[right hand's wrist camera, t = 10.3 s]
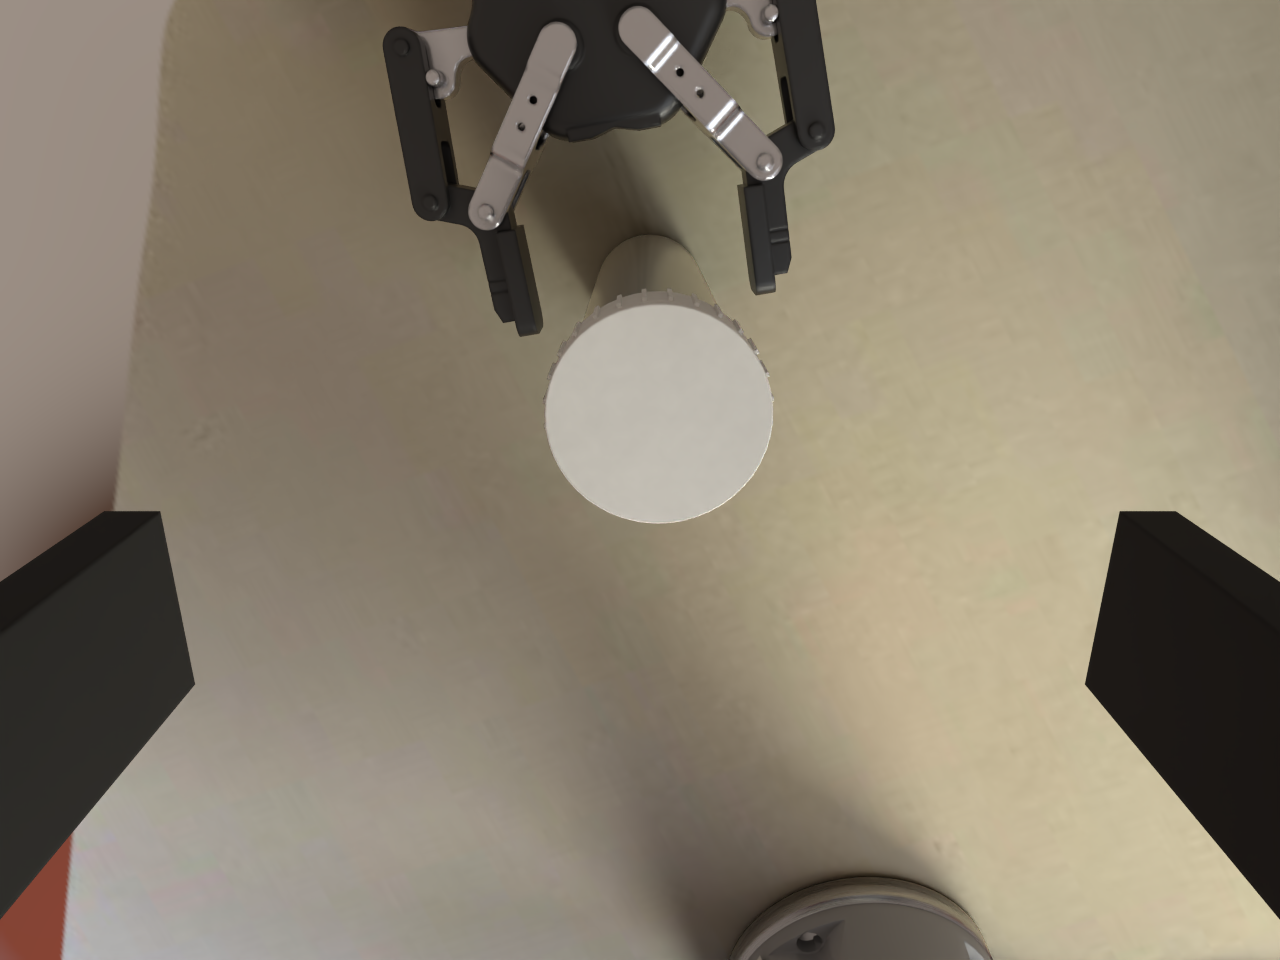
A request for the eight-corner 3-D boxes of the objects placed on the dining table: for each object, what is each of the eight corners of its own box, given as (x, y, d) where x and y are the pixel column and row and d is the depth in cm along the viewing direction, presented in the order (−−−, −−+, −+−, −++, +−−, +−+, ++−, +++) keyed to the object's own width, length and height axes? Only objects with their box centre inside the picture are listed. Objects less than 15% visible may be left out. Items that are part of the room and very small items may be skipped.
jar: (579, 314, 39) (527, 459, 21) (623, 215, 38) (608, 277, 19) (674, 357, 40) (703, 535, 21) (720, 262, 38) (794, 365, 20)
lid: (516, 446, 22) (505, 472, 20) (603, 249, 20) (599, 258, 19) (706, 529, 23) (711, 560, 21) (804, 345, 21) (819, 362, 19)
